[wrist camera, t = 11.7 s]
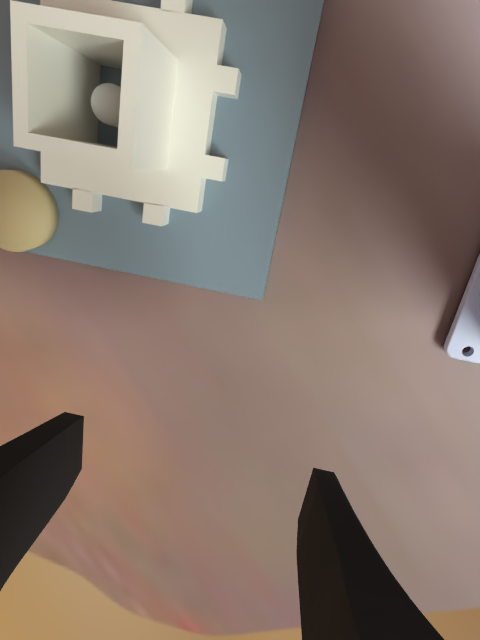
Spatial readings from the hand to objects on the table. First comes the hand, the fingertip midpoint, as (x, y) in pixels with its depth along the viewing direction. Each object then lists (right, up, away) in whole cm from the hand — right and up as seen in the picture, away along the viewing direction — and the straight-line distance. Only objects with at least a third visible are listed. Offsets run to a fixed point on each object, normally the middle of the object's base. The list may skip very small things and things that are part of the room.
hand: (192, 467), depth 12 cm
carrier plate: (-3, +14, +6) cm, 15 cm away
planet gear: (-3, +13, +5) cm, 14 cm away
